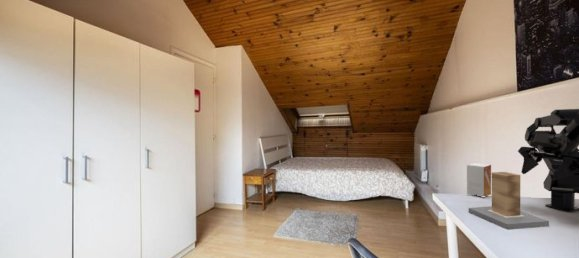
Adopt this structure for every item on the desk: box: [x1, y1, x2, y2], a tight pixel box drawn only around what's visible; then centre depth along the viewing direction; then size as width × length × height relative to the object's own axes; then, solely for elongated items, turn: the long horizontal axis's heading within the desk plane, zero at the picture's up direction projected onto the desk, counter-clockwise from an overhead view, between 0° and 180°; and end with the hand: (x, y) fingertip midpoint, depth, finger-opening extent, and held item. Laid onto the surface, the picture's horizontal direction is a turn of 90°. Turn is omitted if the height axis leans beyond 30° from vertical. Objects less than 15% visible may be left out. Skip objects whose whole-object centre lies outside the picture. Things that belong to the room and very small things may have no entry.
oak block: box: [491, 171, 521, 216], centre depth 81 cm, size 5×5×13 cm
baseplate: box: [468, 205, 550, 230], centre depth 81 cm, size 14×14×2 cm
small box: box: [466, 162, 492, 198], centre depth 106 cm, size 8×6×13 cm
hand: (537, 176), depth 81 cm, fingers open, 9 cm apart
